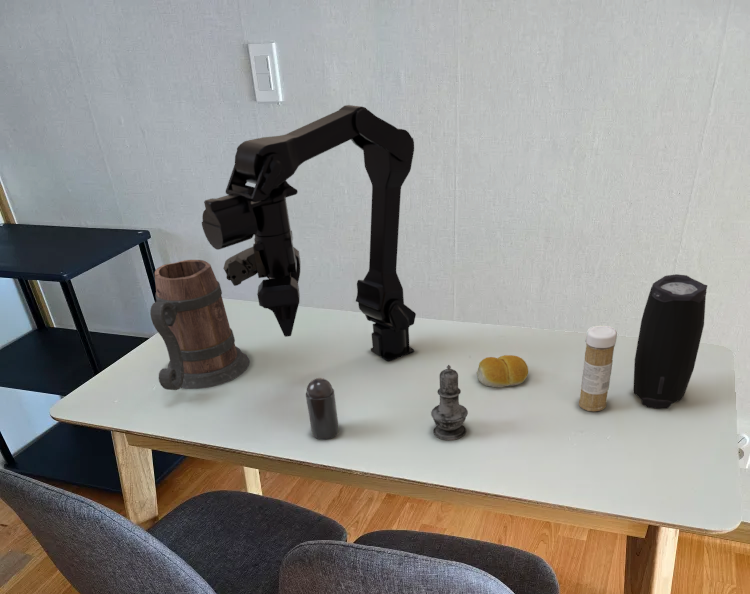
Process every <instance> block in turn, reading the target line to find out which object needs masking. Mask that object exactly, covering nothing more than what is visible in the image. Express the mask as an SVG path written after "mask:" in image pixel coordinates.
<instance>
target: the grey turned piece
mask: <svg viewBox="0 0 750 594" xmlns="http://www.w3.org/2000/svg"><path fill="white" fill-rule="evenodd" d="M461 391H462V390H461V389H460V388H459V373H458V371H456V370H455V369H453V368H452V366H451V365H450V364H448V365H447V366H446V369H445V368H444V369H443V370H441V371H440V373H439V388H438V389H437V395H439V404H437V405H435V406H434V407H433V408H432V409H431V411H430V416H431V418H432V420H433V421H434V424H435V426H434V428H433V435H434V436H435V437H436V438H438V439H440V440H444V441H454V440H459V439H461V438H462V437H464V436H465V435H466V432H467V429H466V427H465V425H464V424H465V421H466V419H467V417H468V414H469V411H468V408H467V407H465V406H464V405H462V404H460V395H461Z"/></svg>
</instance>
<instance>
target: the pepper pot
mask: <svg viewBox="0 0 750 594" xmlns="http://www.w3.org/2000/svg"><path fill="white" fill-rule="evenodd" d="M305 399H306V405H307V411H308V418H309V424H310V431H311V435H312V437H313V438H315V439H317V440H322V441H323V440H325V441H326V440H331V439H333V438H335V437H336V436H338V435H339V433H340V426H339V417H338V411H337V402H336V393H335V389H334V388H333V385H332V384H331V382H330V380H327V379H326V378H324V377H315V378H313V379H311V380H310V381H309V382H308V383H307V387H306V391H305Z"/></svg>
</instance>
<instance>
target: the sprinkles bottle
mask: <svg viewBox="0 0 750 594" xmlns="http://www.w3.org/2000/svg"><path fill="white" fill-rule="evenodd" d="M617 338H618V331H617V329H615V328H614V327H612V326H609V325H593V326H590V327H589V328H588V329H587V330H586V334H585V344H586V345H585V353H584V360H583V367H582V374H581V381H580V382H581V383H580V395H579V400H578V405H579V407H580V408H581V409H583V410H585V411H587V412H600V411H602V410H604V409H605V408H606V407H607V406H608V405H607V404H608V403H607V401H608V400H607V399H608V391H609V390H610V389H609V388H610V384H611V383H610V382H611V376H612V369H613V363H614V362H613V359H614V350H615V347H616V344H617Z"/></svg>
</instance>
